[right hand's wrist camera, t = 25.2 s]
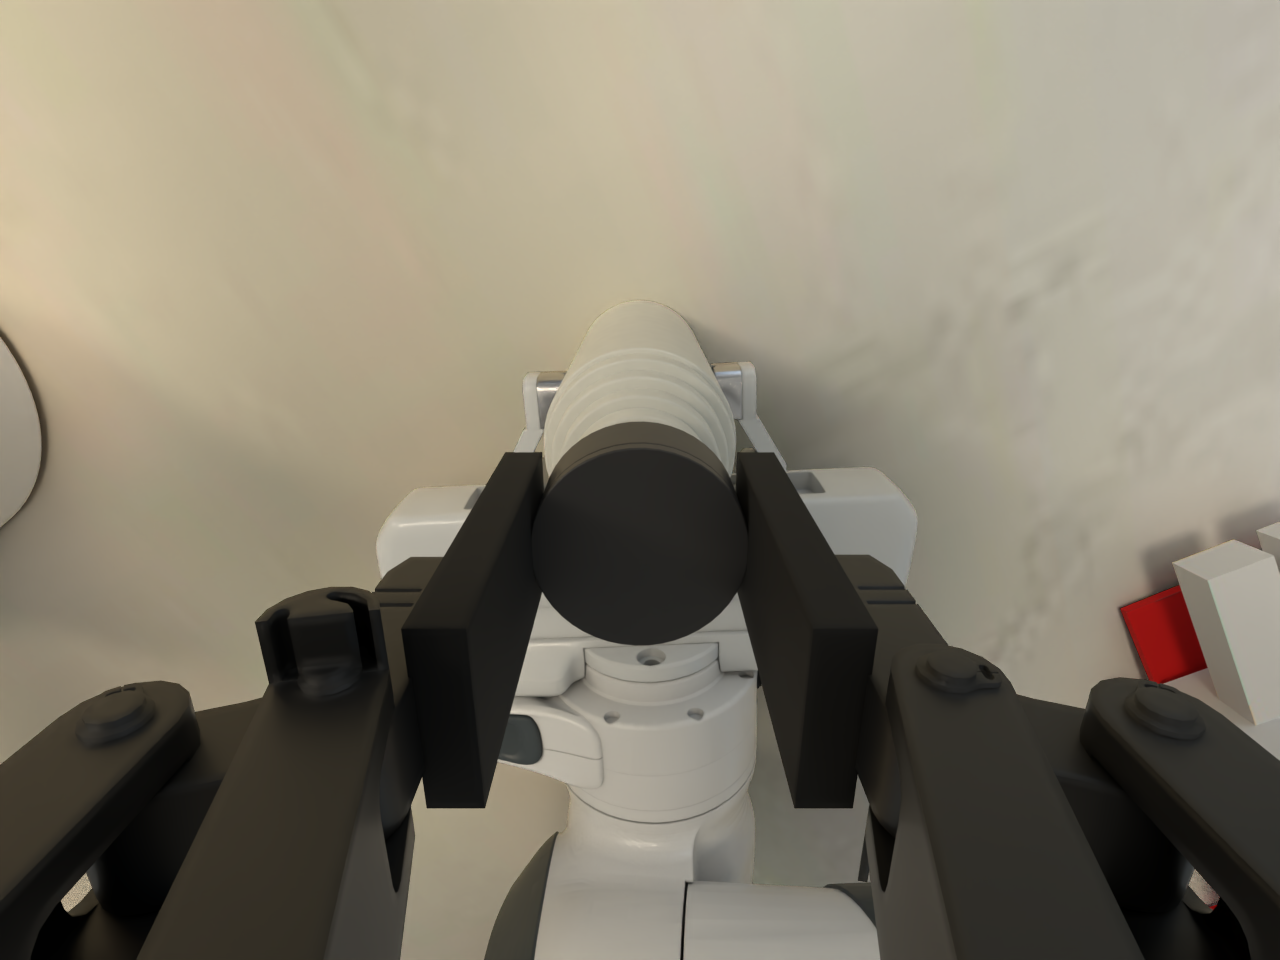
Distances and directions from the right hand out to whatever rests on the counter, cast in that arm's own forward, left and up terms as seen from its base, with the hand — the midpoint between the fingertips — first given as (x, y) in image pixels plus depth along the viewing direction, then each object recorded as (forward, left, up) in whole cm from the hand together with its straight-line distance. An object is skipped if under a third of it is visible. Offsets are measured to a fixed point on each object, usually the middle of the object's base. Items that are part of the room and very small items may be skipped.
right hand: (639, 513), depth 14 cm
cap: (0, 0, +2) cm, 2 cm away
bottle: (0, 0, -17) cm, 17 cm away
